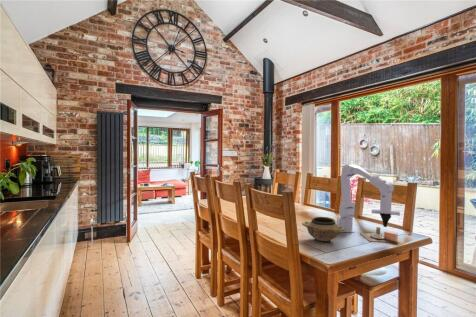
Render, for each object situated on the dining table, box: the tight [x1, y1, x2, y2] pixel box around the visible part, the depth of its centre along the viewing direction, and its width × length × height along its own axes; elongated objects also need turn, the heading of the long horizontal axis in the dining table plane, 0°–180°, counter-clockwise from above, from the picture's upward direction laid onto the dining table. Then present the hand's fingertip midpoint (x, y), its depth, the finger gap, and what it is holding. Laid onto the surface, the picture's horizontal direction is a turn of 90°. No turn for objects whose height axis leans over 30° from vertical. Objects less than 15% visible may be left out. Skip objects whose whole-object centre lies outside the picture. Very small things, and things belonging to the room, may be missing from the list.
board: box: [359, 226, 399, 244], centre depth 168 cm, size 16×15×6 cm
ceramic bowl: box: [301, 216, 345, 245], centre depth 160 cm, size 24×18×15 cm
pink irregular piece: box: [370, 230, 399, 242], centre depth 165 cm, size 15×9×4 cm, turn 40°
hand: (384, 226), depth 160 cm, fingers closed
